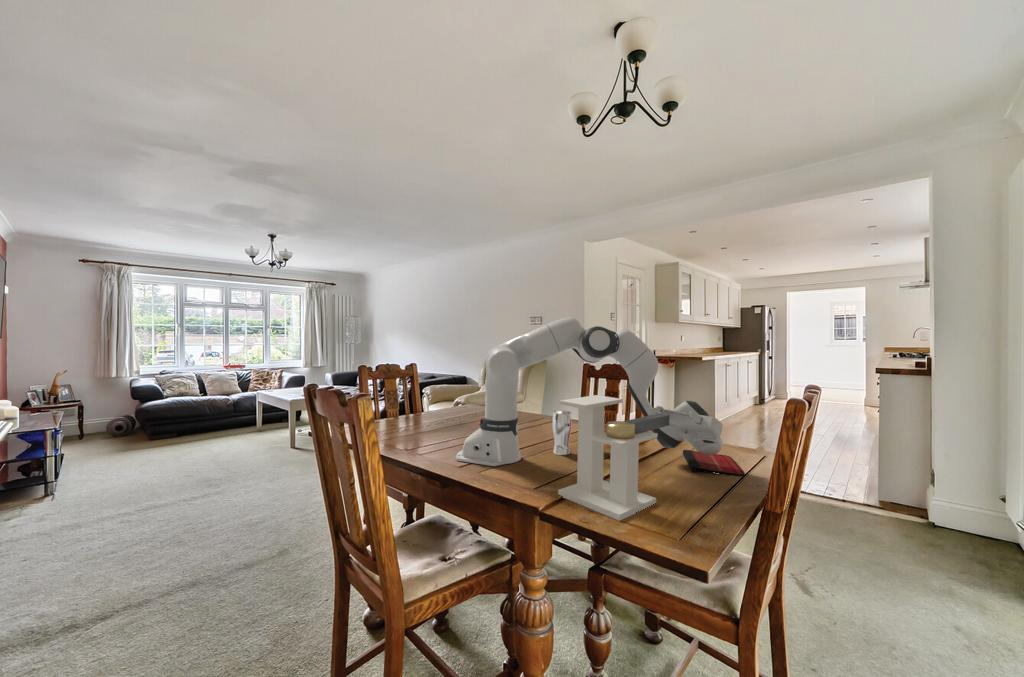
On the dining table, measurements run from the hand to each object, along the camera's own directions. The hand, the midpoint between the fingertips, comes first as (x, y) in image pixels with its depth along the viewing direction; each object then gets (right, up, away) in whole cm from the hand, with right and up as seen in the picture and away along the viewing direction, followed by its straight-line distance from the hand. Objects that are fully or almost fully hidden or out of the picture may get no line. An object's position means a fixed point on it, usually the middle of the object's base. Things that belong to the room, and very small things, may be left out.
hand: (672, 410), depth 126 cm
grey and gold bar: (-13, -4, -11) cm, 17 cm away
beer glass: (-29, -21, +32) cm, 48 cm away
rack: (-22, -22, -10) cm, 33 cm away
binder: (+21, -22, +21) cm, 37 cm away
